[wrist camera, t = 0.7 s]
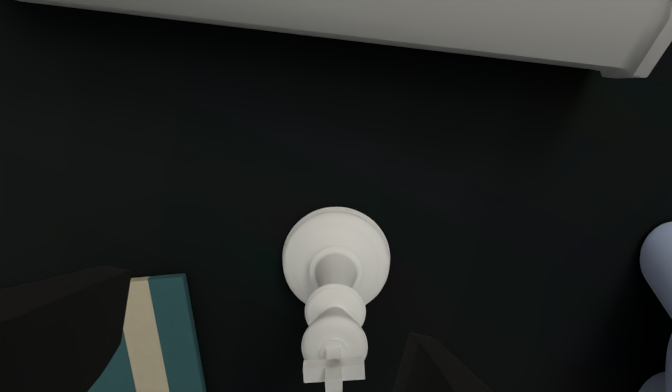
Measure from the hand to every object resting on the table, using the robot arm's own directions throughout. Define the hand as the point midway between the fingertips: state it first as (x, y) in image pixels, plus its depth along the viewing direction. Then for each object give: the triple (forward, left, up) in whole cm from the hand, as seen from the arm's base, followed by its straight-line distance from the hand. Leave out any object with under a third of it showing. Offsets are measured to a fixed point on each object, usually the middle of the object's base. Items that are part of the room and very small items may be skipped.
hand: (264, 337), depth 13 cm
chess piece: (-2, -2, -10) cm, 11 cm away
